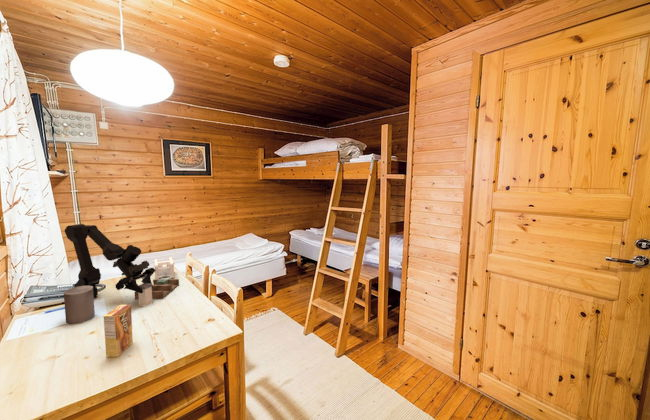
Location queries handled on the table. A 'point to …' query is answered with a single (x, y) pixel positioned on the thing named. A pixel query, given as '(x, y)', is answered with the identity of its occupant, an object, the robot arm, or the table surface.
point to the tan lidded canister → (145, 294)
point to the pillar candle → (79, 304)
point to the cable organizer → (164, 268)
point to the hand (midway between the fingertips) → (147, 290)
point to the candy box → (118, 330)
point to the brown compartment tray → (162, 288)
